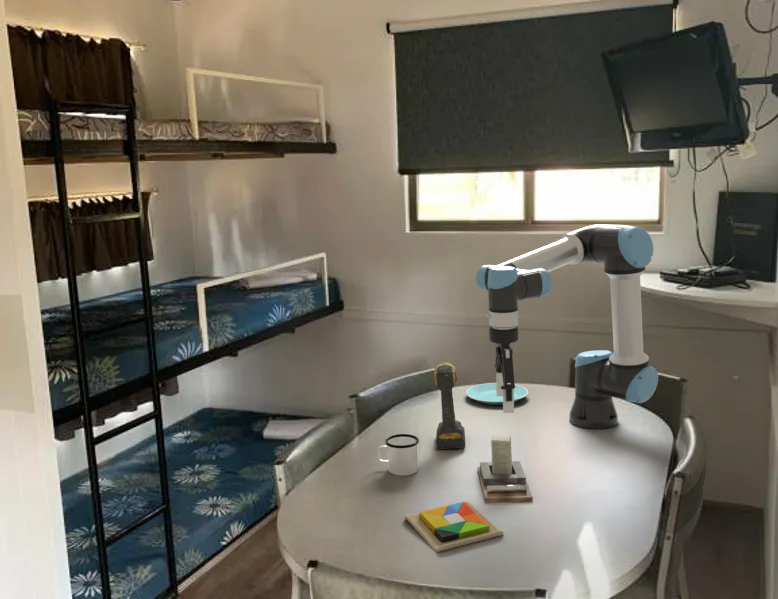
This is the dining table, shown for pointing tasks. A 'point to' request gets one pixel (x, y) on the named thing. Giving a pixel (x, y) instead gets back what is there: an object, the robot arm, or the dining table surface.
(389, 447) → the mug
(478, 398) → the plate
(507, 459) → the box
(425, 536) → the wooden puzzle
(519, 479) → the stand
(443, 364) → the cordless drill
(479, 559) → the dining table surface
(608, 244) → the robot arm
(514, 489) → the rod
